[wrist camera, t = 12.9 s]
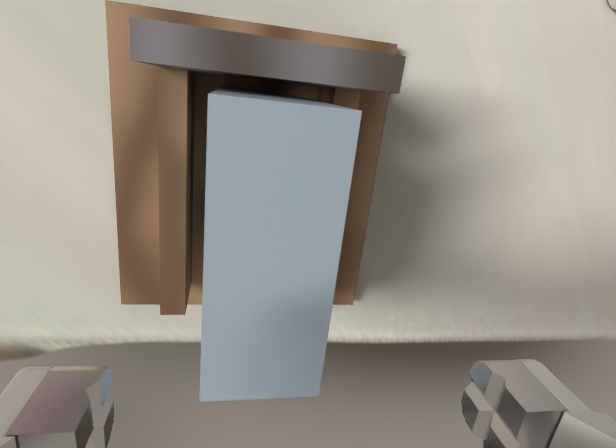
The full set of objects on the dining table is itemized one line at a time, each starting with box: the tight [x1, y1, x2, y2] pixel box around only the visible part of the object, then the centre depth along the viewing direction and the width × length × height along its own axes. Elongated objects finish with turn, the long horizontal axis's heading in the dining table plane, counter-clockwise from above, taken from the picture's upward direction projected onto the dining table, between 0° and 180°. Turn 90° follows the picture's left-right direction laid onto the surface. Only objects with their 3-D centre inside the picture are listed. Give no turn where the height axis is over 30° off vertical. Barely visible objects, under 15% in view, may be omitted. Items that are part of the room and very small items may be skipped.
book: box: [200, 87, 362, 402], centre depth 21 cm, size 5×12×14 cm, turn 173°
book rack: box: [105, 0, 406, 315], centre depth 23 cm, size 18×20×11 cm
